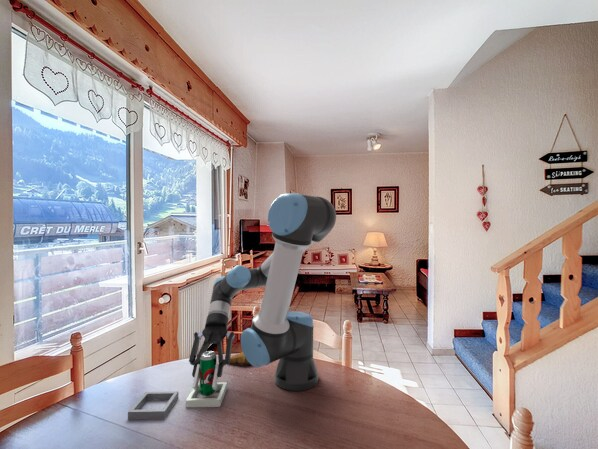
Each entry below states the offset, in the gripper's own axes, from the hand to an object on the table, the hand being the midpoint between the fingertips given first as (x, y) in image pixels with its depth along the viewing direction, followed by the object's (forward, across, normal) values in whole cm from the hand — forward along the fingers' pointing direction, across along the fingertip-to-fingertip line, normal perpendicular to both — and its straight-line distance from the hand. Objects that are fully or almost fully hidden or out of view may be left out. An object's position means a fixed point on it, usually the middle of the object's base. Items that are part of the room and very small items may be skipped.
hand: (204, 388), depth 87 cm
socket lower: (+1, 0, -6) cm, 6 cm away
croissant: (-16, -8, -23) cm, 29 cm away
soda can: (0, 0, -5) cm, 5 cm away
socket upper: (+4, +14, -2) cm, 15 cm away
